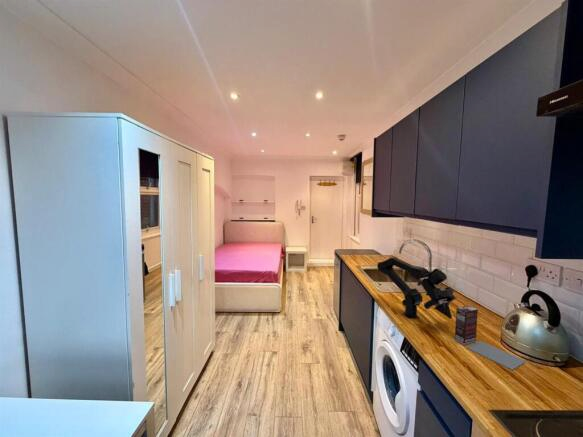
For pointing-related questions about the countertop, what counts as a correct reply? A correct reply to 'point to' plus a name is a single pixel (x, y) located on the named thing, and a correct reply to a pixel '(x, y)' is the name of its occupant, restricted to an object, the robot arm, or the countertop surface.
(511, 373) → the countertop surface
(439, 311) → the robot arm
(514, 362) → the mat
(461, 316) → the supplement box
